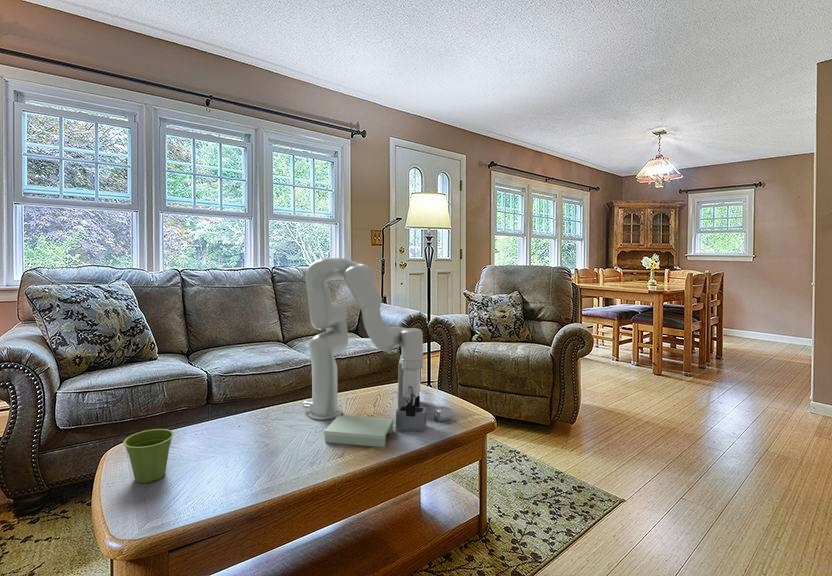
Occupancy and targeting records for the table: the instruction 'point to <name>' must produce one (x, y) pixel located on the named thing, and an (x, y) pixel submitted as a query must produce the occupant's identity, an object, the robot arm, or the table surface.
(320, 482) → the table surface
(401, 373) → the hard drive box
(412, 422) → the housing
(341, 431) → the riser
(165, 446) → the plant pot
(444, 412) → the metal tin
